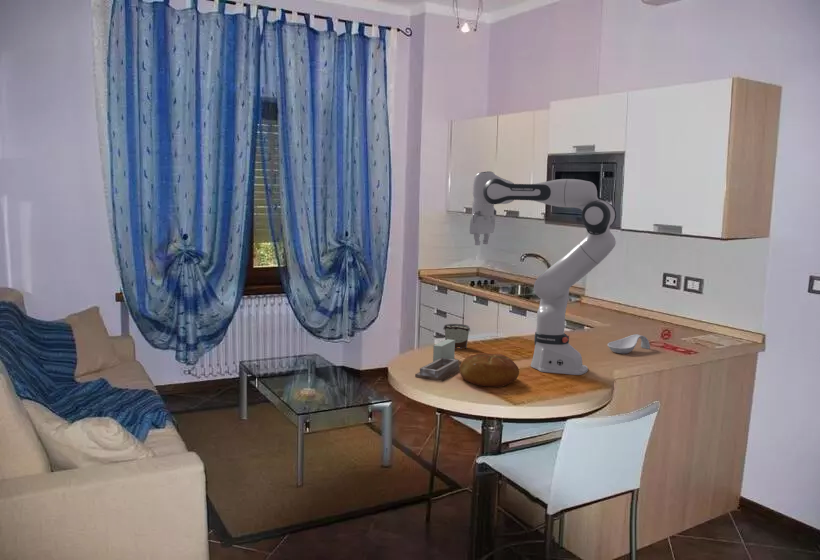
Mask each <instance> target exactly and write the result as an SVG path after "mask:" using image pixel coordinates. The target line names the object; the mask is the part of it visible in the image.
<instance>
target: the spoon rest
mask: <svg viewBox="0 0 820 560" xmlns="http://www.w3.org/2000/svg"><path fill="white" fill-rule="evenodd" d="M639 339H640V340H641V342H640V347H641V348H642V349H646V350H650V349H651V345H650V342H649V339H648V338H647V337H646V336H645V335H640V334H637V333H636V334H631V335H629V336H626V337H623V338H619V339H616V340H613V341H610V342H608V343H607V347H608V348H609V350H610V351H612V352H614V353H616V354H619V355H620V354H621V355H623V354H624V355H626V354H629V353H630V352H632V351H634V349H635V347H636V345H637V342H639Z"/></svg>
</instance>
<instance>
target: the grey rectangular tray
mask: <svg viewBox="0 0 820 560" xmlns="http://www.w3.org/2000/svg"><path fill="white" fill-rule="evenodd" d="M457 373H460V365H459V359H455V358H454V359H447V358H440V359H438V360H436V361H434V362H433V361H432V362H430V363H428V364H426V365H423V366H422V367H420V368H419V372H417V373H415V376H414V377H415V378H421V379H425V380H432V381H438V382H439V381H440V382H443V381H444V380H447V379H448V378H450V377H452V376H454V375H455V374H457Z"/></svg>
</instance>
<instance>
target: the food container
mask: <svg viewBox="0 0 820 560" xmlns="http://www.w3.org/2000/svg"><path fill="white" fill-rule="evenodd" d="M443 330H444V339H445V340H447V339H450V340H455V347H460V348H459V349H462V348H466V349H467V347H468V339H469V333H470V332H471V328H470V326H469V325H467V324H463V323H462V324H461V323H447V324H444V325H443Z"/></svg>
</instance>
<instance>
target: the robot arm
mask: <svg viewBox="0 0 820 560" xmlns="http://www.w3.org/2000/svg"><path fill="white" fill-rule="evenodd" d="M472 197H473V201H472V203H471V205H472V206H471V215H472V216H471V217H470V221H469V223H470V224H469V234H470V235H473V239H474V246H480V245H481V240H480V239H481V238H480V236H481V235H483V240H482V244H483V245H488V244H489V240H490V236H491V235H490V234H493V233H494V231H495V226H496V216H497V210H496V209H495V207H494V206H495V205H500V204H501V205H506V204H510V203H512V202H514V201H531V202H537V203H541V204H544V205H548V206H553V207H557V208H571V209H572V208H575V209H579V210H581V221H582V224H583V225H584V227H585V229H586V231H587V232H586V233H588V234H587V235H586V236H585V237H584V238H583V239H582V240H581V241H579V242H578V243H577V244H576V245H575V246H573V248H572V249H571V250H569V251H568V252H567V253H566V254H565V255H564V256H562V257H560V259H558V260H557V261H556V262H555V263H554V264H552V265H551V266H550V267H549V268H547V269H546V270H545V271H544V272H543V273H541V274H540V275H539V276H538V277H537V278H536V279H535V281H534V284H533V291H534V293H535V296H537V297H538V298H539V299H540V301H539V306H538V309H537V312H536V330H535V332H534V341H533V342H534V351H533V357H532V359H531V362H530V367H531V368H533V369H536V370H538V371H539V372H541V373H551V374H561V375H562V374H563V375H564V374H565V375H573V376H574V375H575V376H580V375H584V374H586V373H587V372H588V371H589V370H588V369H589V367H588V366H587V365H583V359H582V358H583V357H582V354H581V353H580V352H579V351H578V350H577V349H575V347H574V346H572V345H571V344H570V343H569V342H570V334H566V333H565V323H566V311H567V307H568V306H567V305H568V302H569V295H570V288H572V286H574V285H575V284H576V283H577V282H579V281H580V280H581V279H583V278H584V277H585V276H586V275H588V274H589V273H590V272H592V270H593V269H595V268H596V267H597V266H598V265H599V264H601V262H602V261H603V260H605V259H606V258H607V256H609V255H610V253H611V252H612V251H613V250H614V248H615V247H616V244H617V243H616V242H617V241H616V238H615V236H614V234H613V233H612V232H611V230H610V228H611V227H612V225H613V224H614V223H615V221H616V219H617V212H616V209H615V207H614V206H613V205H612V204H611V203H609V202H608V201H606V200H604V199H603V198H602V197H598V190H597V185H596V184H595V183H593V182H592V181H588V180H583V179H577V178H576V179H575V178H560V179H553V180H547V181H543V182H539V183H514V182H513V181H510V180H507V179H505V178H502V177H501V176H499V175H497V174H495V172H493V171H481V172H478V173H477V174H475V176H474V179H473V184H472Z"/></svg>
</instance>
